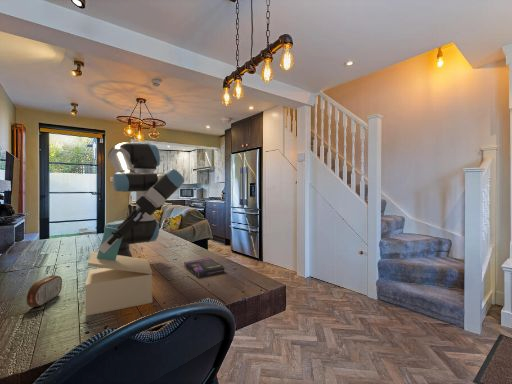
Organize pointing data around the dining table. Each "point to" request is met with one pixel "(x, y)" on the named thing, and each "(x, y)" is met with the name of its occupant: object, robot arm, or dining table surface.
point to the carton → (116, 290)
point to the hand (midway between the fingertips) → (101, 249)
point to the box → (204, 267)
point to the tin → (44, 291)
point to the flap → (117, 258)
